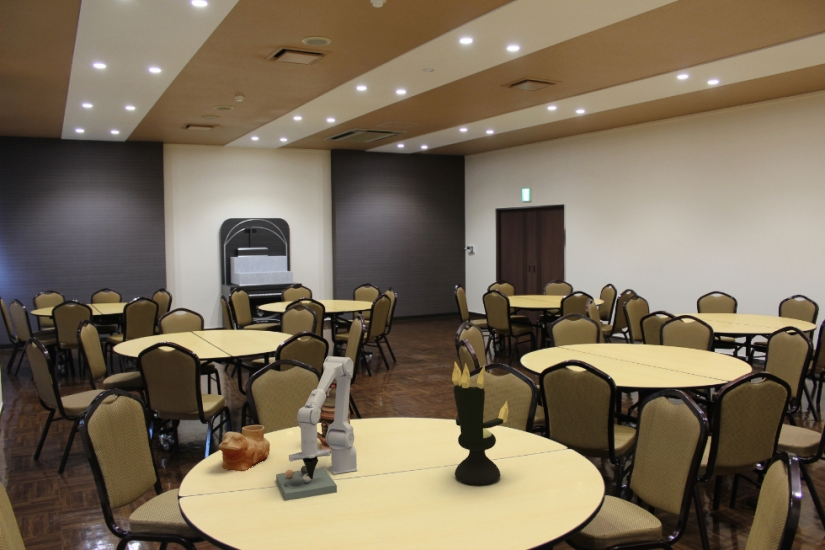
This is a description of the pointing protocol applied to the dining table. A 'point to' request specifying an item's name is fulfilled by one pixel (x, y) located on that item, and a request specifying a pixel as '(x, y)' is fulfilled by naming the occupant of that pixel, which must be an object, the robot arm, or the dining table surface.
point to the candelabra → (475, 429)
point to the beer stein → (328, 417)
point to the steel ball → (306, 478)
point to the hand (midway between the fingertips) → (310, 478)
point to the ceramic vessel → (244, 448)
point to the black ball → (304, 470)
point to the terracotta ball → (289, 473)
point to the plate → (306, 484)
